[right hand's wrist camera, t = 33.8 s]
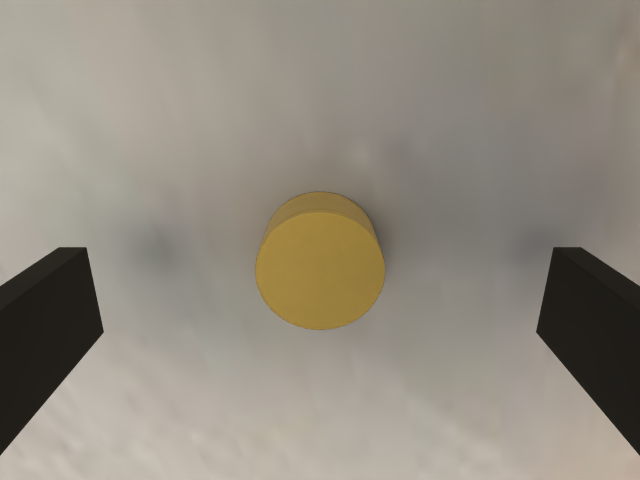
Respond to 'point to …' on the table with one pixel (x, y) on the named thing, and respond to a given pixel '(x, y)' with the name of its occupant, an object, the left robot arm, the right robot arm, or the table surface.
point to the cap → (320, 262)
